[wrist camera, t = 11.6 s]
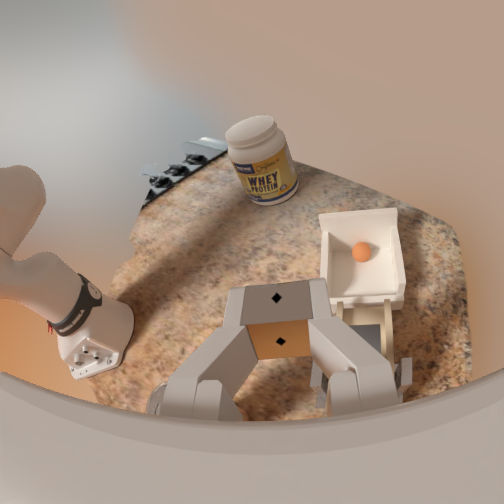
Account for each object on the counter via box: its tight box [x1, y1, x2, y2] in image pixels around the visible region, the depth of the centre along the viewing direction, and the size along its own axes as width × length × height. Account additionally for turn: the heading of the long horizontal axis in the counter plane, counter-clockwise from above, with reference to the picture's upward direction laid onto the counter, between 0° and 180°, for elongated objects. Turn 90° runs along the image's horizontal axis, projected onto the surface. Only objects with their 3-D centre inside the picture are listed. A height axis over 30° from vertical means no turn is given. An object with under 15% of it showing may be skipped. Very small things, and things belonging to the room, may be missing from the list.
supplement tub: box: [225, 115, 299, 205], centre depth 57 cm, size 12×12×17 cm
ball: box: [352, 242, 371, 262], centre depth 42 cm, size 3×3×3 cm
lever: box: [322, 299, 397, 417], centre depth 26 cm, size 16×8×16 cm, turn 169°
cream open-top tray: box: [319, 208, 406, 313], centre depth 39 cm, size 12×12×9 cm
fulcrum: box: [310, 357, 412, 408], centre depth 29 cm, size 6×12×9 cm, turn 79°
